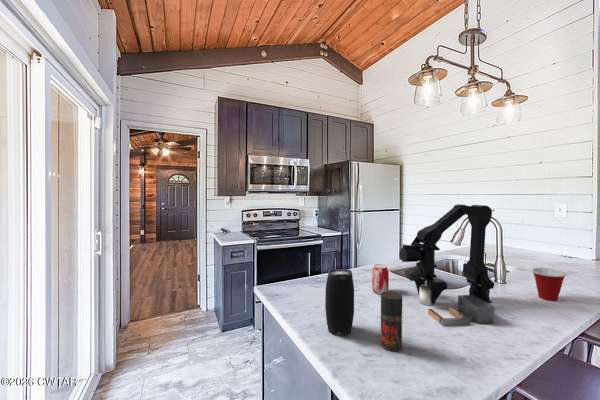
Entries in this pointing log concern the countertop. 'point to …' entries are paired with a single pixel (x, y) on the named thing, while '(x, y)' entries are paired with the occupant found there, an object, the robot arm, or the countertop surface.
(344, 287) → the portable speaker
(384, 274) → the soda can
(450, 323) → the grey angular piece
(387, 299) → the deodorant
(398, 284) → the countertop surface
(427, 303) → the white rounded cylinder
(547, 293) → the plastic cup
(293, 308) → the countertop surface
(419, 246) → the robot arm
